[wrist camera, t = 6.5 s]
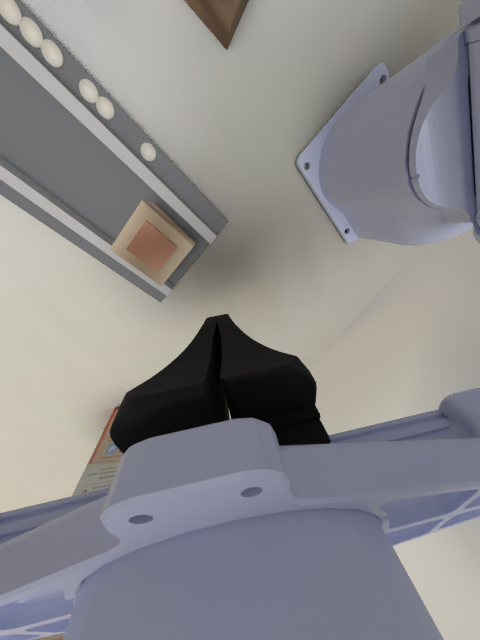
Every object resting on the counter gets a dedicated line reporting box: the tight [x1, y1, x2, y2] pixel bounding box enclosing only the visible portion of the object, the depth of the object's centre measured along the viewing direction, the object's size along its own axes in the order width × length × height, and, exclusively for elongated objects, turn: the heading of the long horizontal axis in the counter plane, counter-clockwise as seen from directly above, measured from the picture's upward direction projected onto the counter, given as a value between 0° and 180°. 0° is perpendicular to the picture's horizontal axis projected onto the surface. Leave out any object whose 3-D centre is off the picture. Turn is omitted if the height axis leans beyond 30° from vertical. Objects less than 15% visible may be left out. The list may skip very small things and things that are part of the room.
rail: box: [0, 0, 228, 302], centre depth 14 cm, size 16×10×2 cm, turn 46°
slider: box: [110, 200, 196, 286], centre depth 15 cm, size 4×4×4 cm
